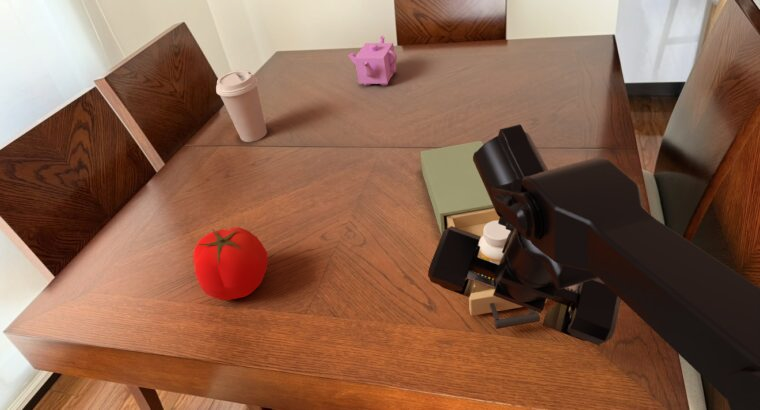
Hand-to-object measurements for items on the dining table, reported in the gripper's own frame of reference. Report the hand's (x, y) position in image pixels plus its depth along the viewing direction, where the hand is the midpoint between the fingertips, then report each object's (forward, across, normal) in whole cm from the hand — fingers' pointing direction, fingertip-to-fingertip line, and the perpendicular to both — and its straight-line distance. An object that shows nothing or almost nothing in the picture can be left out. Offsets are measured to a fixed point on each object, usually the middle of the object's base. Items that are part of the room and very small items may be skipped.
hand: (506, 306), depth 59 cm
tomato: (+21, +40, +5) cm, 46 cm away
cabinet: (+24, +11, -26) cm, 37 cm away
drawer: (+15, +2, -10) cm, 19 cm away
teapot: (+46, +46, -65) cm, 92 cm away
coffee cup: (+40, +65, -33) cm, 83 cm away
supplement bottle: (+14, +1, -9) cm, 17 cm away
